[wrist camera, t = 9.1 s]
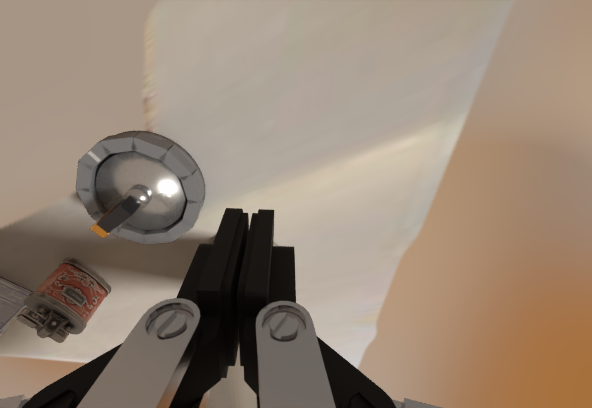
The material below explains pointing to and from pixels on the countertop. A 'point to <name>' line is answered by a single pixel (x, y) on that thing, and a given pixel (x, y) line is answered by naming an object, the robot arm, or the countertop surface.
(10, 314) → the medicine box
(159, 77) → the countertop surface
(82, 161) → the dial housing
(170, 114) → the countertop surface
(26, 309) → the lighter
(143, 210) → the dial
